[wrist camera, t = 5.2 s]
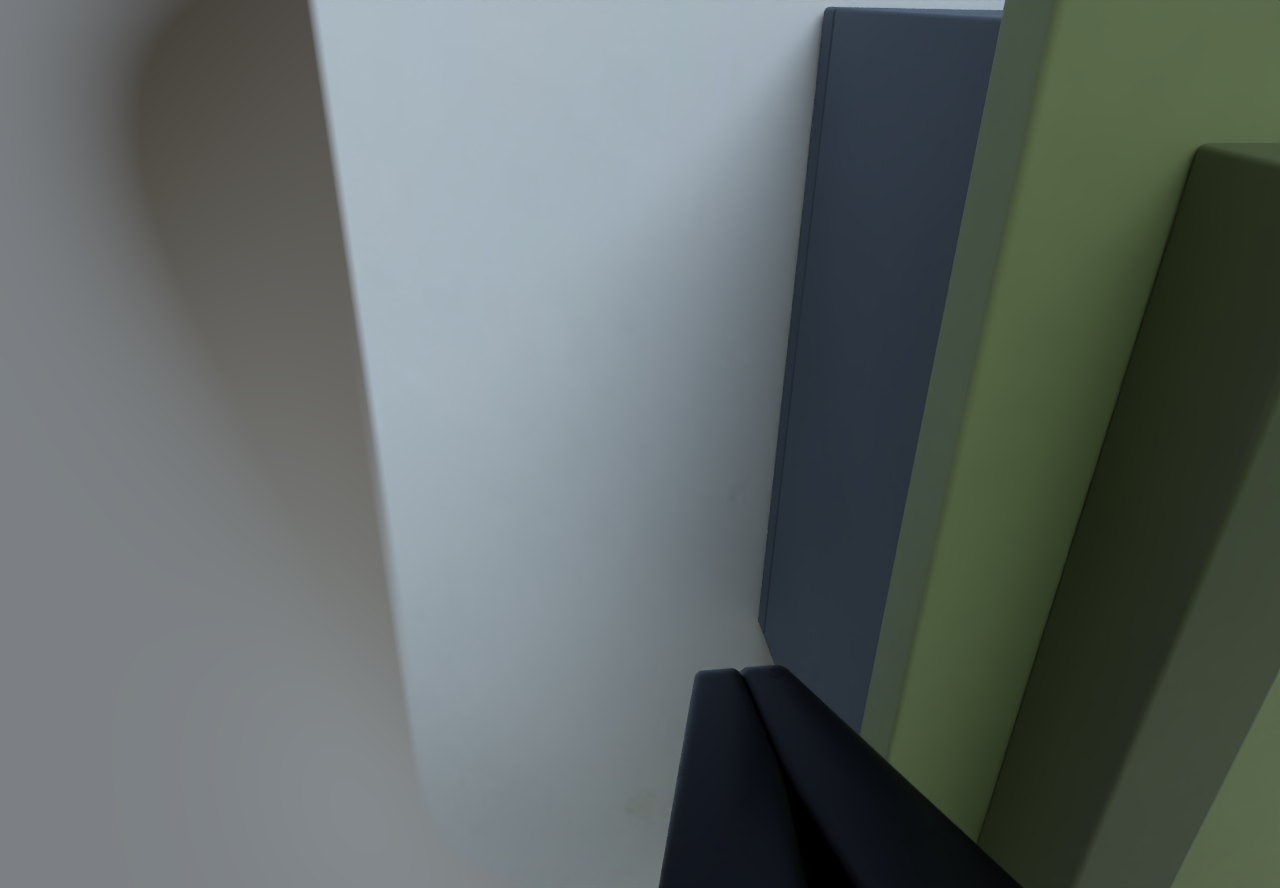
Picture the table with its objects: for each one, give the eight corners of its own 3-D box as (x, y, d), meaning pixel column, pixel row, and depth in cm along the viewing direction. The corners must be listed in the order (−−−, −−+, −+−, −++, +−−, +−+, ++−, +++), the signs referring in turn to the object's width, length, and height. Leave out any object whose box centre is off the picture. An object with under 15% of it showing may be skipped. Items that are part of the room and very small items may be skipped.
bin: (757, 620, 18) (868, 913, 12) (824, 6, 12) (1078, 22, 7) (1328, 580, 20) (1659, 822, 14) (1608, 22, 14) (2343, 45, 8)
